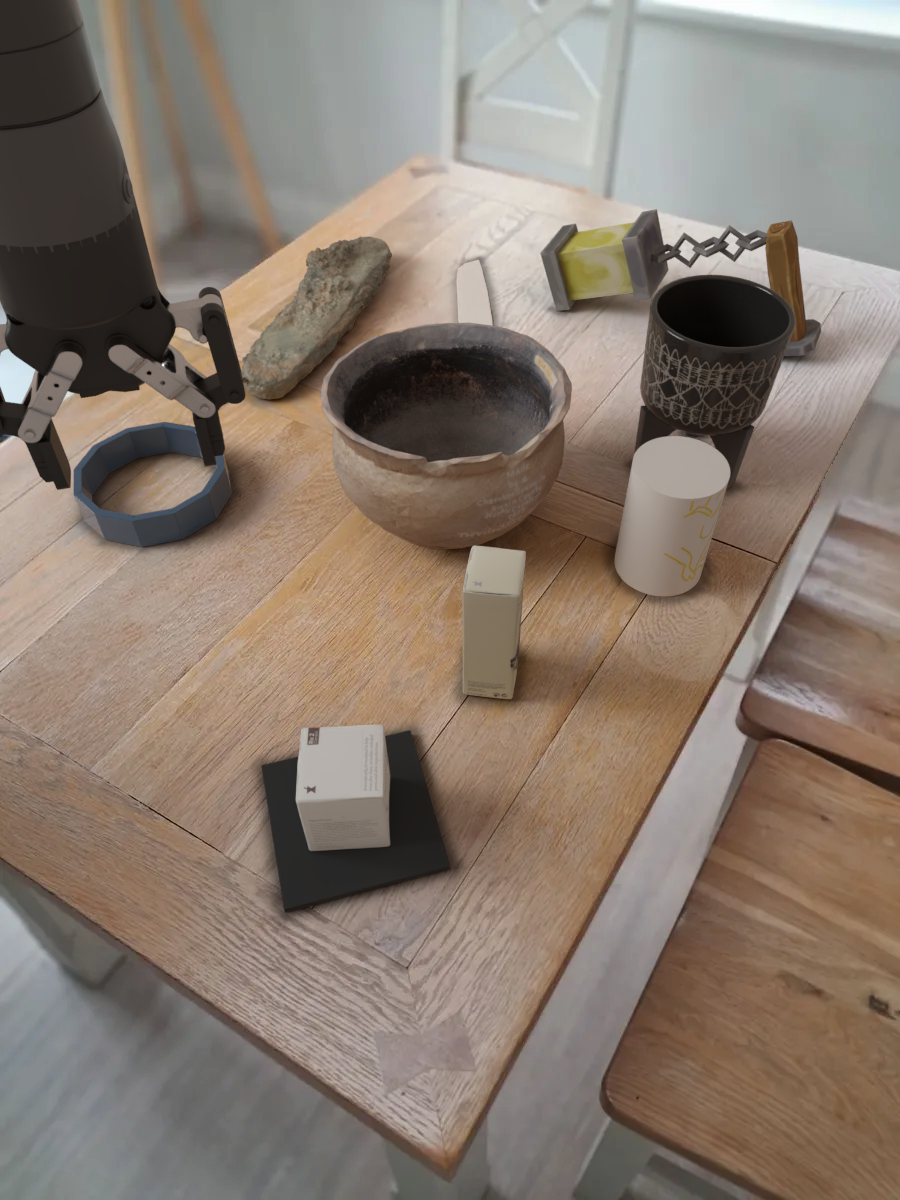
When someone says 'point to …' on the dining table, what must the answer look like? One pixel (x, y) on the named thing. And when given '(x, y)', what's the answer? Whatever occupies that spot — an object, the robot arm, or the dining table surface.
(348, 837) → the product carton
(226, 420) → the dining table surface
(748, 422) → the planter
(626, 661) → the dining table surface
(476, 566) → the box
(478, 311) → the knife
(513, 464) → the ceramic bowl
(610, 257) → the lantern
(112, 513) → the faceted polygonal ring
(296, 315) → the long grey stone
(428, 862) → the coaster
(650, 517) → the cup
